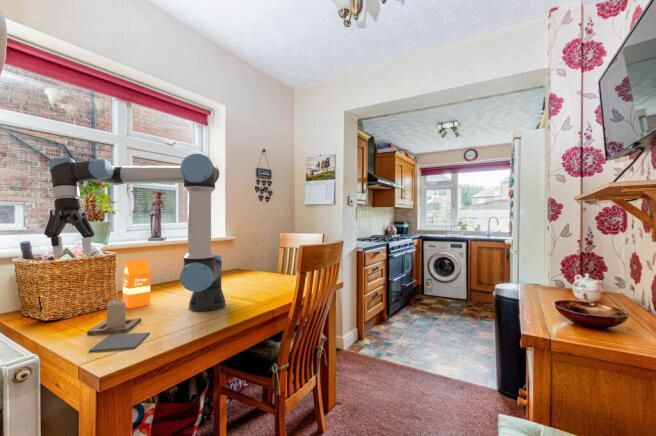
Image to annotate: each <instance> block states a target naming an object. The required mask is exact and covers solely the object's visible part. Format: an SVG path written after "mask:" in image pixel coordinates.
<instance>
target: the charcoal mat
mask: <svg viewBox="0 0 656 436" xmlns="http://www.w3.org/2000/svg"><path fill="white" fill-rule="evenodd" d="M148 336H150V331H149V332H136V333H135V332H134V333H115V334H108V335H107V336H106V337H105V338H104V339H102V340H101V341H99V342H98V343H96V345H94V346H92V347H91V348H90V349H89V350H88V353H96V352H97V353H98V352H107V351H109V352H111V351H125V350H135V349H136V348H137V347H139V346H140V344H142V342H144V340H146V338H147V337H148Z"/></svg>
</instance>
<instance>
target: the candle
mask: <svg viewBox="0 0 656 436" xmlns="http://www.w3.org/2000/svg"><path fill="white" fill-rule="evenodd" d="M125 304H126V303H125V302H124V301H123V298H121V299H119V298H115V299H111V300H110V301H108V303H107V304H106V320H107V323H106V327H105V328H122V327H125V326H126V324H125V319H126V307H125Z"/></svg>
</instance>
